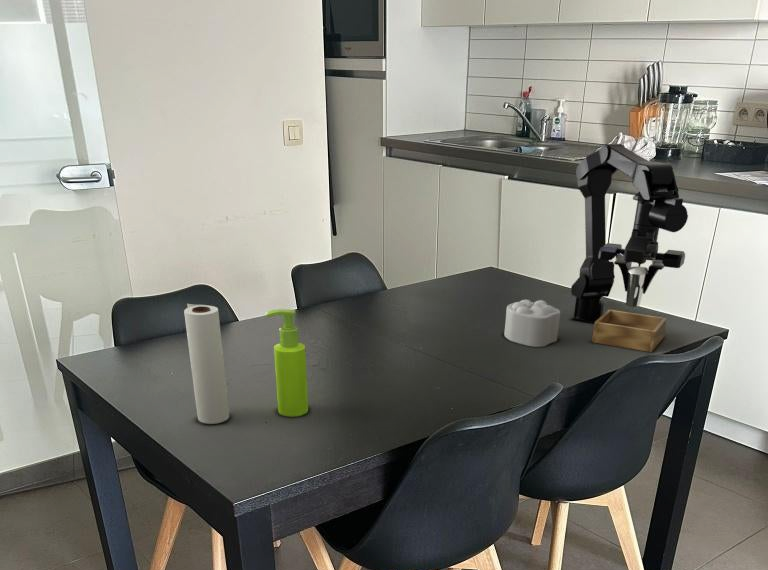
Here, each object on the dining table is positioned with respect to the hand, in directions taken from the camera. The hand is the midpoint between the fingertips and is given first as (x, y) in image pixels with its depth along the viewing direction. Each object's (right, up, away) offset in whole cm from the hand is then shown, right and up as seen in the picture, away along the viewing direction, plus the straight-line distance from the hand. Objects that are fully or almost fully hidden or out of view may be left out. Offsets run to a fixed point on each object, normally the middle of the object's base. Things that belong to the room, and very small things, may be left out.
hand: (635, 292), depth 184 cm
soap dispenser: (-79, -33, -32) cm, 91 cm away
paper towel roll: (-93, -34, -35) cm, 105 cm away
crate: (+1, -10, +7) cm, 12 cm away
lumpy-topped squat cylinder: (-24, -9, +8) cm, 27 cm away
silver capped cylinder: (0, -3, +2) cm, 3 cm away
